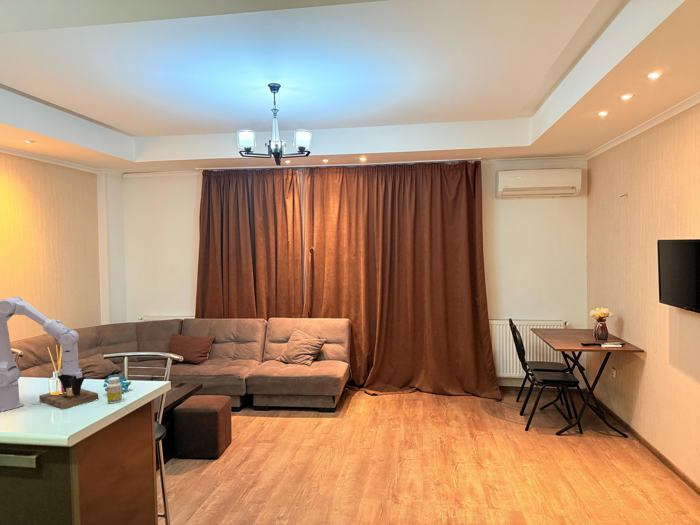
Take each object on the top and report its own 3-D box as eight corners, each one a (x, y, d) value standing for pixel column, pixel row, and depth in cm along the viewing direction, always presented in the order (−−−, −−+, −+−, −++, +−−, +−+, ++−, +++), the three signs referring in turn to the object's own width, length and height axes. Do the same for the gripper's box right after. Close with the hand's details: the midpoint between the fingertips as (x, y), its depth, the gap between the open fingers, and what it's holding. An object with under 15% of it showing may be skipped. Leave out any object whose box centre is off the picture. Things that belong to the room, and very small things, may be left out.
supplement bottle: (118, 403, 193) (117, 380, 192) (104, 404, 193) (103, 380, 192) (124, 399, 198) (123, 376, 198) (111, 399, 198) (110, 376, 198)
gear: (104, 394, 201) (103, 373, 207) (101, 401, 204) (100, 381, 210) (132, 392, 207) (130, 372, 213) (129, 399, 210) (127, 380, 216)
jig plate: (39, 401, 199) (39, 395, 199) (74, 392, 210) (74, 386, 210) (62, 409, 187) (62, 403, 187) (98, 399, 199) (98, 393, 199)
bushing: (65, 402, 197) (64, 387, 196) (75, 399, 200) (74, 385, 200) (70, 403, 194) (69, 389, 194) (80, 401, 198) (79, 386, 197)
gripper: (89, 360, 196) (91, 393, 196) (71, 356, 204) (73, 387, 204) (71, 363, 190) (73, 397, 190) (54, 359, 198) (55, 392, 199)
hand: (72, 393), depth 197 cm, fingers open, 7 cm apart
